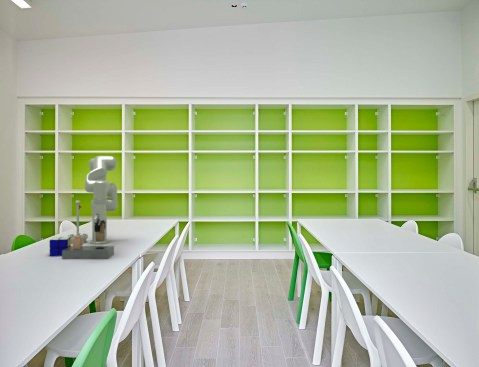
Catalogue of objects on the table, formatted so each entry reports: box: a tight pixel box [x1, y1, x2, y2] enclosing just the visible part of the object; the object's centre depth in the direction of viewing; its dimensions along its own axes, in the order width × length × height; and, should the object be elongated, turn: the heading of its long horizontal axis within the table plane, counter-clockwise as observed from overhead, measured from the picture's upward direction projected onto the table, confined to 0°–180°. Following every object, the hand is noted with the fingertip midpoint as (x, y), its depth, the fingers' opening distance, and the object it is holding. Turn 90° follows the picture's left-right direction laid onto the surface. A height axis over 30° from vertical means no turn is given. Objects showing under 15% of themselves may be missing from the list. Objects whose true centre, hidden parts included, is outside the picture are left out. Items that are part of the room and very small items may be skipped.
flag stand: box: [67, 200, 89, 245], centre depth 249 cm, size 13×13×30 cm
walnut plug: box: [96, 222, 105, 241], centre depth 210 cm, size 4×4×11 cm
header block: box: [61, 245, 115, 260], centre depth 210 cm, size 12×26×5 cm, turn 94°
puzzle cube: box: [49, 235, 72, 257], centre depth 215 cm, size 10×10×10 cm
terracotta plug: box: [72, 236, 83, 249], centre depth 210 cm, size 4×4×11 cm
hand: (100, 230), depth 210 cm, fingers open, 9 cm apart
